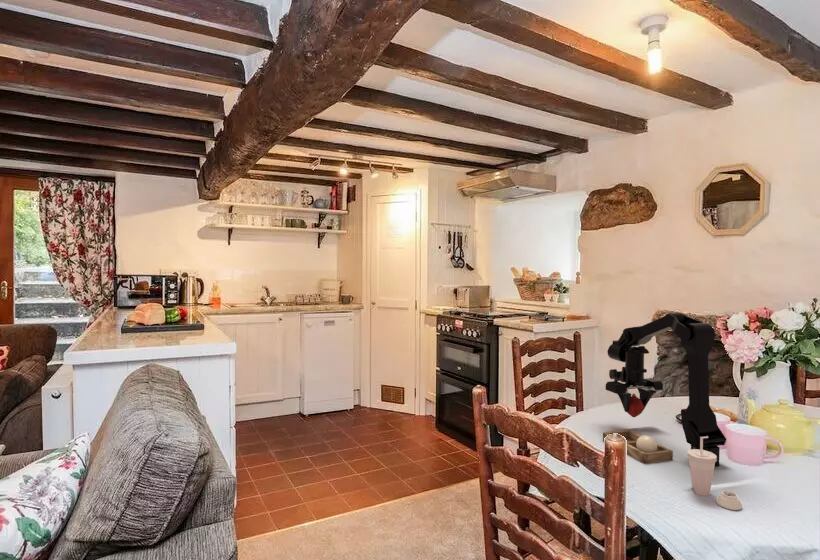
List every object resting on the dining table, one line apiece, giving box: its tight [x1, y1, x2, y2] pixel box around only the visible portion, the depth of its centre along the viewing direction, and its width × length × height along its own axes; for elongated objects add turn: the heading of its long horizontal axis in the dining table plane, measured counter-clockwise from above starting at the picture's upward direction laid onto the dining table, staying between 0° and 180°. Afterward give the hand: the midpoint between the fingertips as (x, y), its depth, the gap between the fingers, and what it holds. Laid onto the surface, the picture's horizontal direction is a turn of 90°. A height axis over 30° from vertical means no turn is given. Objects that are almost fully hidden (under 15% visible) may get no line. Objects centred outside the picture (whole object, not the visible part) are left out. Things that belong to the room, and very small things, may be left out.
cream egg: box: [636, 435, 658, 453], centre depth 140 cm, size 6×6×6 cm
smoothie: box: [686, 437, 717, 497], centre depth 120 cm, size 6×6×14 cm
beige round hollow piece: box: [716, 490, 743, 511], centre depth 113 cm, size 5×3×5 cm
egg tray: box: [602, 429, 674, 464], centre depth 145 cm, size 18×10×4 cm, turn 15°
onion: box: [626, 393, 645, 418], centre depth 162 cm, size 6×6×8 cm
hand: (634, 411), depth 162 cm, fingers closed on onion, 6 cm apart
